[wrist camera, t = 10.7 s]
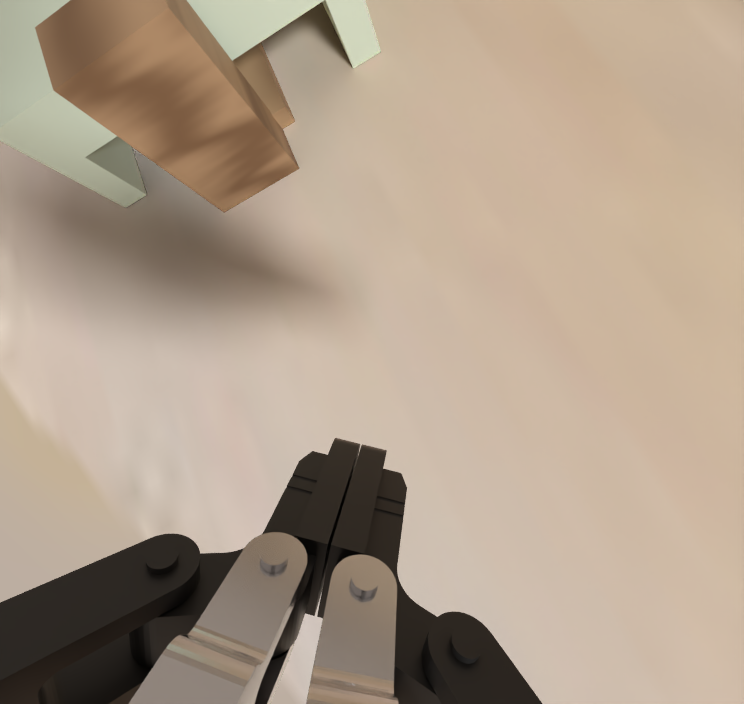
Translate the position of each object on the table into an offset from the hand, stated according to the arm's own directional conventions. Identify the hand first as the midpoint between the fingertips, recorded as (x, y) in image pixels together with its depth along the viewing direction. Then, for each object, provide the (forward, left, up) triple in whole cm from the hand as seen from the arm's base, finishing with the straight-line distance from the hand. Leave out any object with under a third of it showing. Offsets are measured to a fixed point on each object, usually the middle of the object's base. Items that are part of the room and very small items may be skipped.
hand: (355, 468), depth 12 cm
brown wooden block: (+4, -26, -12) cm, 29 cm away
